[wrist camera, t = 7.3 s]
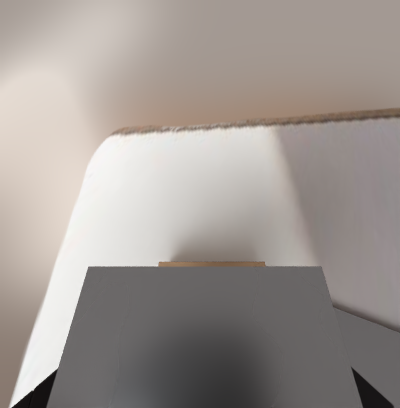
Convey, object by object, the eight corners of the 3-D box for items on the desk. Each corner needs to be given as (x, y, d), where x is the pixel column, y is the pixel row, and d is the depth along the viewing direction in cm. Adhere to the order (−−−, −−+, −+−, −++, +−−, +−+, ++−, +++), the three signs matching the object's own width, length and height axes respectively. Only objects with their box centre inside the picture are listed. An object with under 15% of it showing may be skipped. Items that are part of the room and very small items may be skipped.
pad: (469, 515, 11) (480, 524, 10) (316, 432, 13) (319, 436, 12) (442, 350, 14) (449, 352, 14) (325, 305, 16) (328, 305, 16)
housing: (259, 392, 11) (473, 783, 2) (165, 388, 11) (-40, 694, 2) (249, 298, 13) (321, 266, 4) (172, 298, 14) (88, 266, 5)
